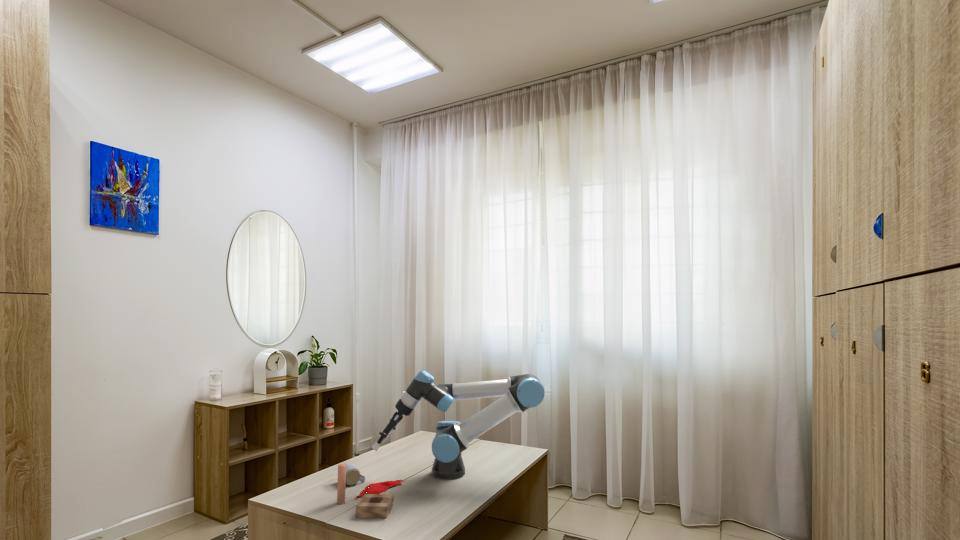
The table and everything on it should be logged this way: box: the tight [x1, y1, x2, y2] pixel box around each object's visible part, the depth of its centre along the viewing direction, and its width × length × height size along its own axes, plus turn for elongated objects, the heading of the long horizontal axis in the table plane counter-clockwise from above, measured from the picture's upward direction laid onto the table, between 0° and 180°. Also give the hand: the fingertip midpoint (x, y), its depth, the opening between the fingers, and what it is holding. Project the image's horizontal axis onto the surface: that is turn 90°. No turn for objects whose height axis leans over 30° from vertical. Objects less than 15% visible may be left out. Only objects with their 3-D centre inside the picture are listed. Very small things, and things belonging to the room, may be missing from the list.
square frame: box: [355, 493, 395, 519], centre depth 176 cm, size 11×11×4 cm
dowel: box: [336, 463, 347, 505], centre depth 184 cm, size 3×3×14 cm
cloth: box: [354, 479, 404, 500], centre depth 198 cm, size 26×14×2 cm, turn 131°
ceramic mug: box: [343, 461, 367, 486], centre depth 204 cm, size 11×8×8 cm
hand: (378, 444), depth 204 cm, fingers open, 13 cm apart
